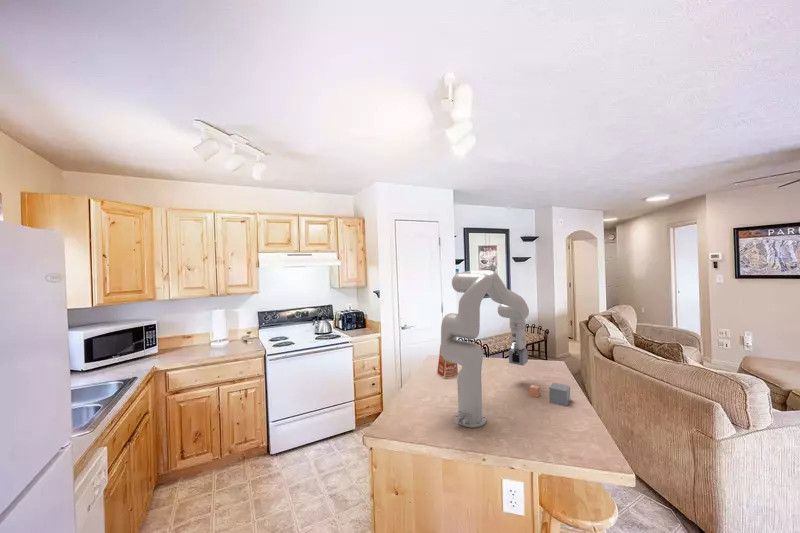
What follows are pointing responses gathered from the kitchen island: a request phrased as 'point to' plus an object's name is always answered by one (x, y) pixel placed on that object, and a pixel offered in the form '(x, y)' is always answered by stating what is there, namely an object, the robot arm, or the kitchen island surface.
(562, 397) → the grey block
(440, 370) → the milk carton
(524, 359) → the gray cube
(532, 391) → the letter cube
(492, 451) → the kitchen island surface
